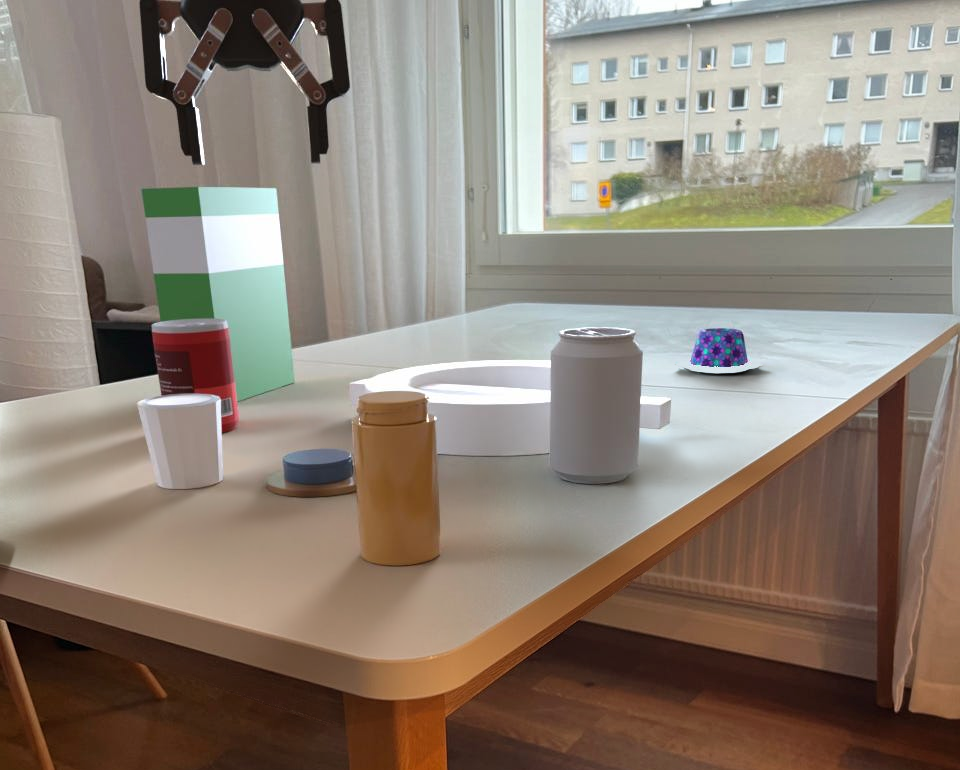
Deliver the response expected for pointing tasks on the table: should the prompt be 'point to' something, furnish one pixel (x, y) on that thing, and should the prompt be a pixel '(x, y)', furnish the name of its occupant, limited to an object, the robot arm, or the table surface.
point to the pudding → (719, 348)
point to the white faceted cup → (184, 439)
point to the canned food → (197, 362)
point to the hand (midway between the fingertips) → (257, 164)
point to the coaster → (309, 486)
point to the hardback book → (225, 273)
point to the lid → (317, 466)
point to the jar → (396, 478)
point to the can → (595, 404)
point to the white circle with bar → (490, 404)
